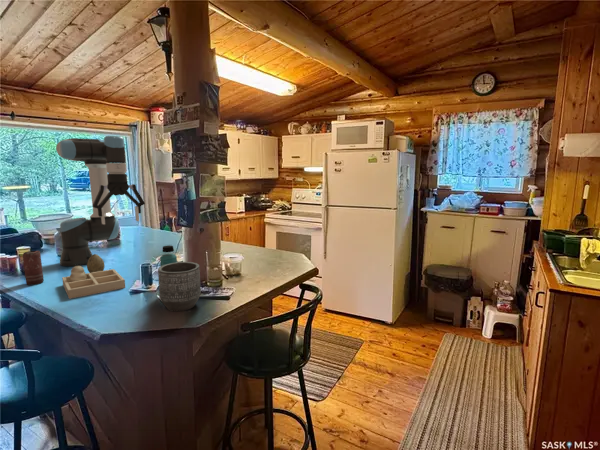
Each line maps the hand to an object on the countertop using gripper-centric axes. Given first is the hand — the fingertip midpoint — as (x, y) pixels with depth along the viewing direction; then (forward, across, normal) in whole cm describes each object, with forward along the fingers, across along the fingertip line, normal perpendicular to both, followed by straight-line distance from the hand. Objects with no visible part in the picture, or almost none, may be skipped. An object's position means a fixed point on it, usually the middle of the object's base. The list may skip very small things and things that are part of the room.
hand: (121, 222), depth 152 cm
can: (+27, -31, +21) cm, 46 cm away
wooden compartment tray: (+26, -13, 0) cm, 29 cm away
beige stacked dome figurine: (+25, -17, +4) cm, 31 cm away
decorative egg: (+27, -8, +18) cm, 33 cm away
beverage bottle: (+26, +9, -31) cm, 42 cm away
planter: (+26, +8, -45) cm, 52 cm away
